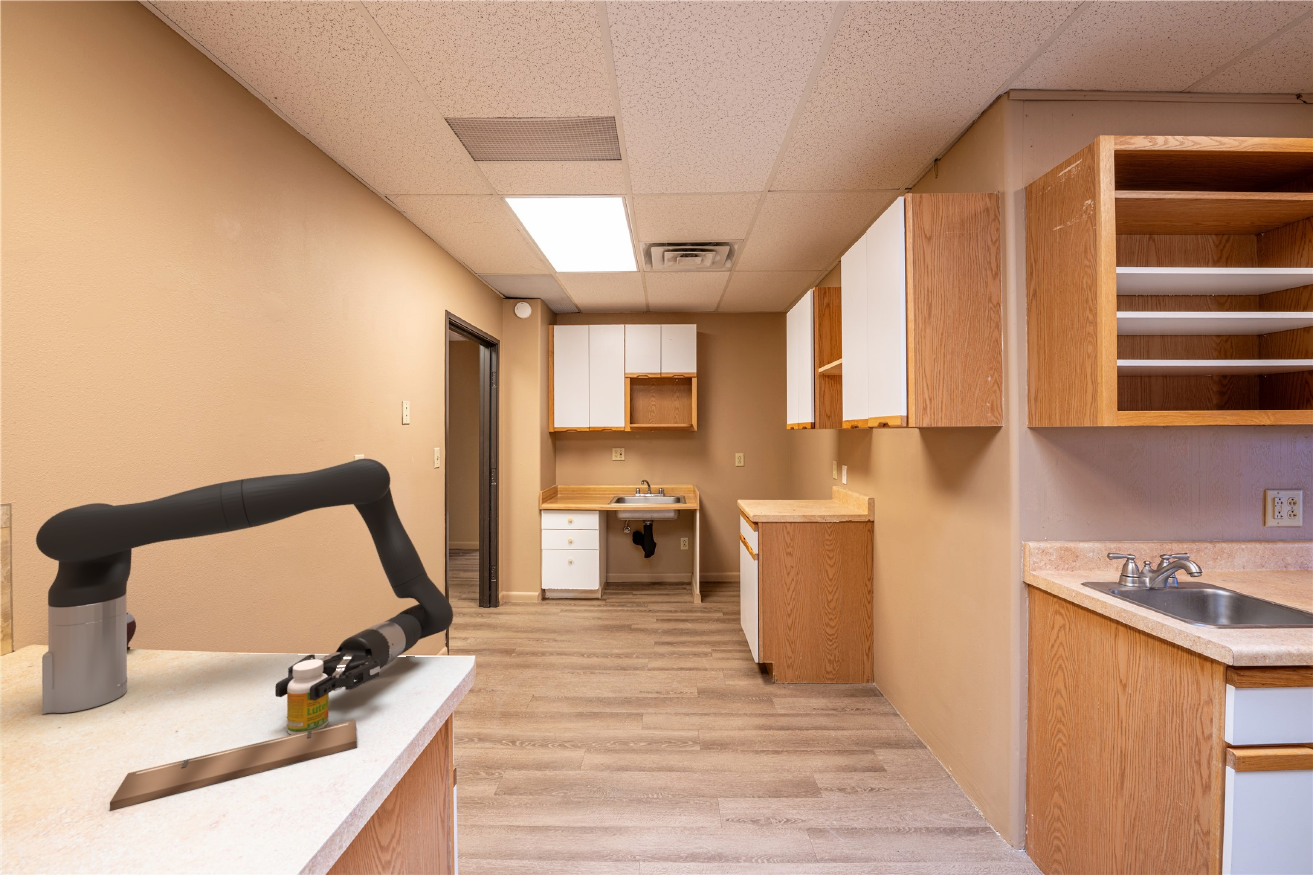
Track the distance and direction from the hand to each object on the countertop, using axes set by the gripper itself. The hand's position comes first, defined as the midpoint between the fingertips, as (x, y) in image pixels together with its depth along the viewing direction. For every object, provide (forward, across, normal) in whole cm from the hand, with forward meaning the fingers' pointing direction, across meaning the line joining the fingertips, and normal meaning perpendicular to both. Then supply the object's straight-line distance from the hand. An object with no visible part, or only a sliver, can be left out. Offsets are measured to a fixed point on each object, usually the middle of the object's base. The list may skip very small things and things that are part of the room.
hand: (294, 692), depth 81 cm
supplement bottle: (-3, 0, +7) cm, 7 cm away
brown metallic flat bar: (+7, -1, +7) cm, 10 cm away
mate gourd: (-19, -62, +7) cm, 66 cm away
